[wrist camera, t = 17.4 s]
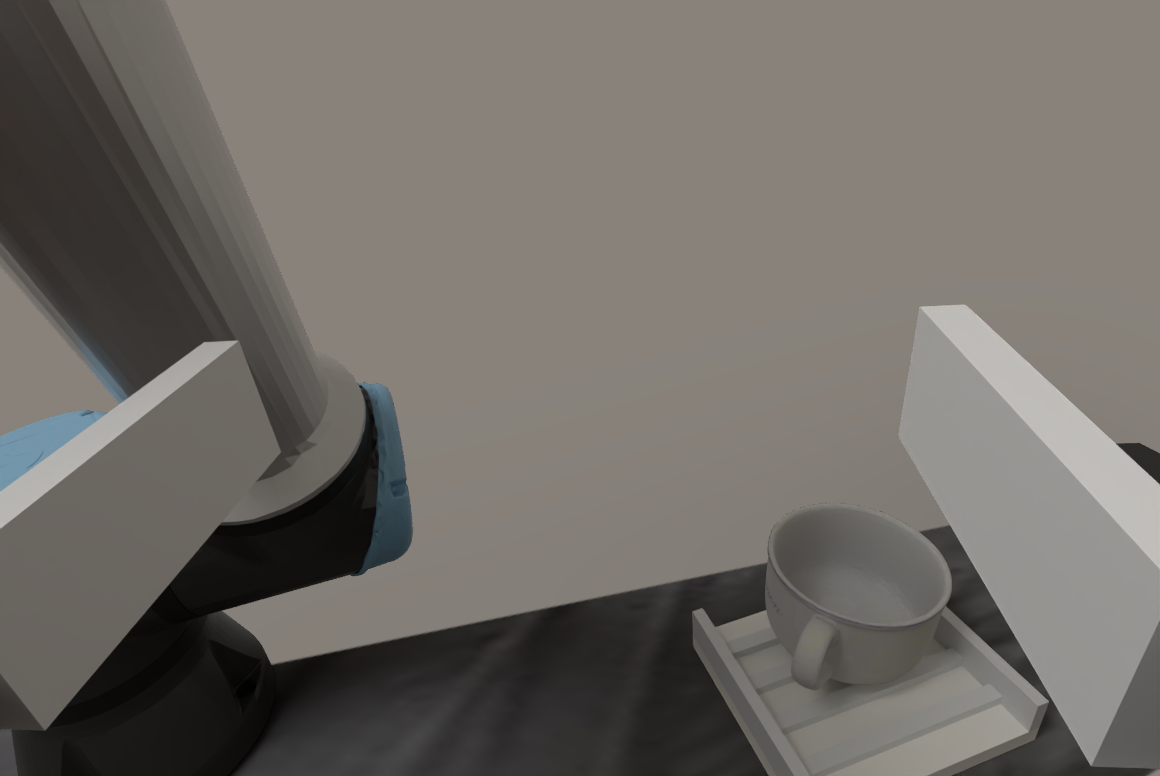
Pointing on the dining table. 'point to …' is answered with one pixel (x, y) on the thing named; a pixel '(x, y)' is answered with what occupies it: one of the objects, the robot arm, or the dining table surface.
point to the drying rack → (871, 705)
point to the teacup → (853, 593)
